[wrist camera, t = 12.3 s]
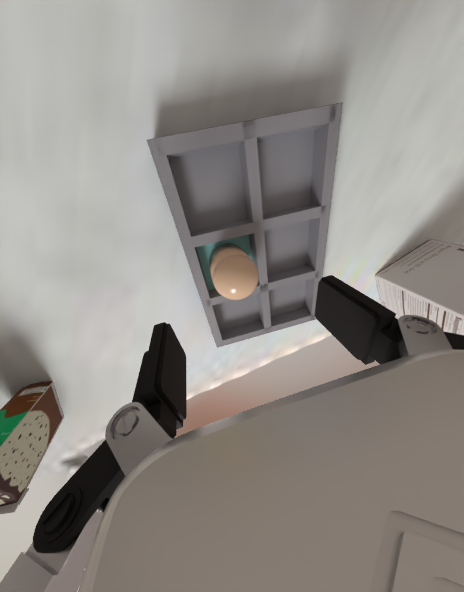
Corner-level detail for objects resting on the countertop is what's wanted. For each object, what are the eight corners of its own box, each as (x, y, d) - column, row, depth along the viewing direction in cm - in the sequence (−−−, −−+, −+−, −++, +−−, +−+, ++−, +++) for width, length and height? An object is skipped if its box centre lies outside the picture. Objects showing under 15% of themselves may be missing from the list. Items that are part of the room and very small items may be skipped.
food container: (-11, 374, 22) (-136, 488, 14) (50, 374, 24) (-26, 474, 15) (17, 425, 28) (-59, 527, 19) (65, 421, 29) (15, 513, 21)
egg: (204, 248, 19) (209, 270, 13) (243, 239, 19) (263, 257, 14) (213, 284, 21) (221, 314, 16) (248, 274, 21) (267, 301, 16)
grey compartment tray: (153, 147, 14) (146, 139, 12) (321, 114, 15) (342, 102, 13) (215, 335, 26) (217, 347, 24) (307, 308, 27) (317, 318, 25)
